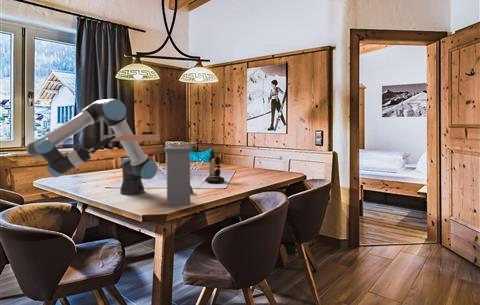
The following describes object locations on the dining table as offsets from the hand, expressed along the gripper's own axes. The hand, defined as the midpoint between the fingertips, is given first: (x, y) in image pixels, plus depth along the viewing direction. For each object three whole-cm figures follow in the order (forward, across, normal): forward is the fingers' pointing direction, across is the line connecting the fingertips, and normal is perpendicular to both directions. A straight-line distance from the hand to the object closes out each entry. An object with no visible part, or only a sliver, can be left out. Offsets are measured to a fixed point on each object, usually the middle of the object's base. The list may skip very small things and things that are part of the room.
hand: (121, 132), depth 165 cm
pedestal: (+5, 0, -50) cm, 50 cm away
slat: (+3, 0, -6) cm, 7 cm away
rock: (+11, -26, -53) cm, 60 cm away
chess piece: (+35, -59, -67) cm, 96 cm away
